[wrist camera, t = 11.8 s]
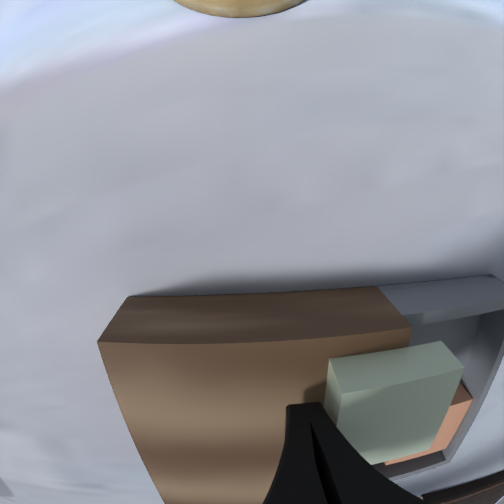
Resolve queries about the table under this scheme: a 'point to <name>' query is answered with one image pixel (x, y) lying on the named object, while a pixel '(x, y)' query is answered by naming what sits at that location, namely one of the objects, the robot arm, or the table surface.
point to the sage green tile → (392, 398)
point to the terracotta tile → (445, 424)
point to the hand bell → (238, 7)
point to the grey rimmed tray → (453, 344)
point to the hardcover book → (470, 492)
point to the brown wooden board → (232, 379)
